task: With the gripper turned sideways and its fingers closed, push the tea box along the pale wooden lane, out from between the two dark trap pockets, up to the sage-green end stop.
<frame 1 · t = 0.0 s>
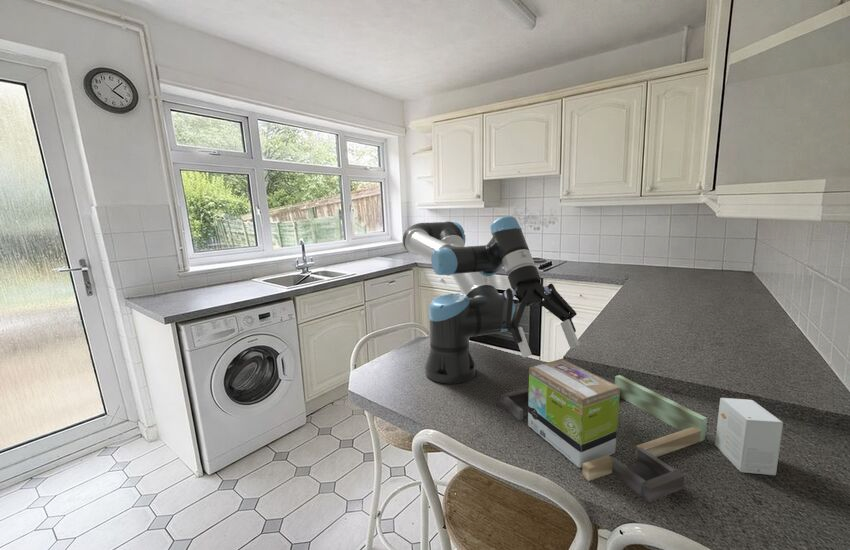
hand: (551, 351, 82), 15 cm above the kitchen counter, tool tilted 35°, fingers open, 13 cm apart
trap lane: (605, 428, 78), on the kitchen counter
tea box: (568, 441, 74), on the kitchen counter
small box: (742, 460, 67), on the kitchen counter
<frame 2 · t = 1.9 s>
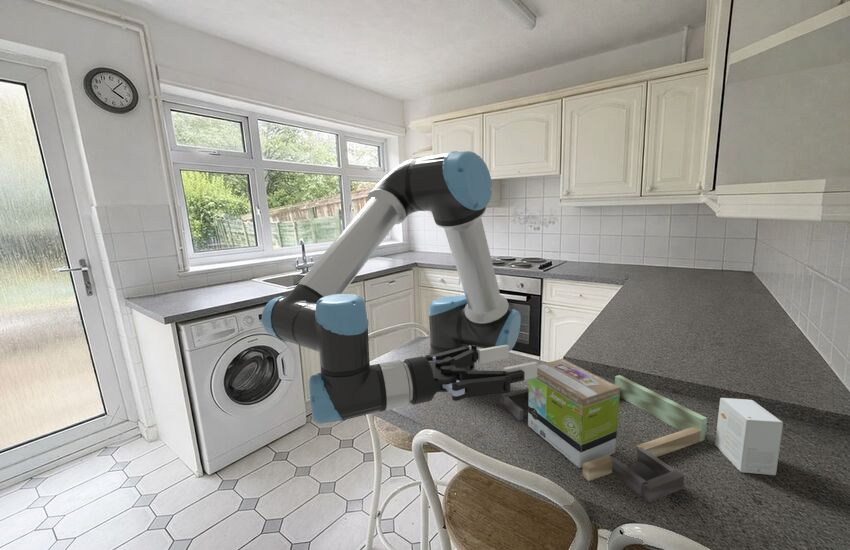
hand: (520, 359, 67), 20 cm above the kitchen counter, tool horizontal, fingers open, 8 cm apart
nothing on the kitchen counter moved.
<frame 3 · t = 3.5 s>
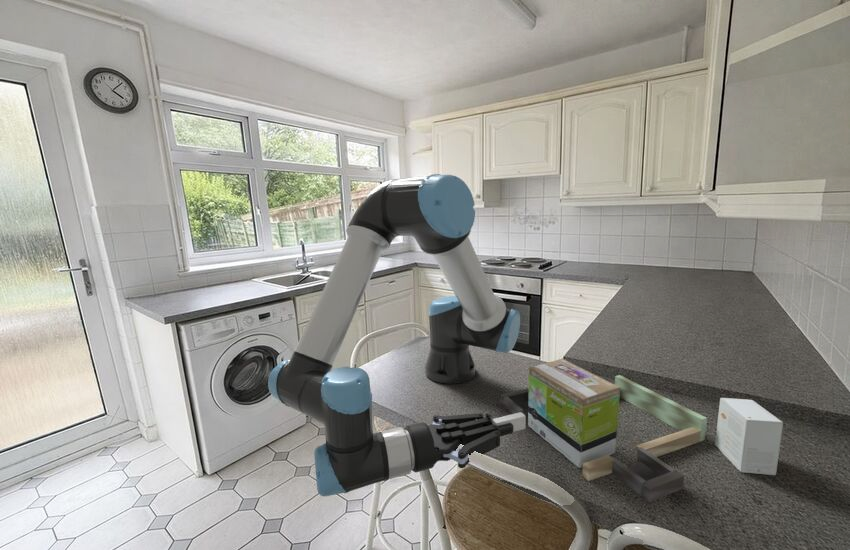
hand: (523, 420, 69), 7 cm above the kitchen counter, tool horizontal, fingers closed
nothing on the kitchen counter moved.
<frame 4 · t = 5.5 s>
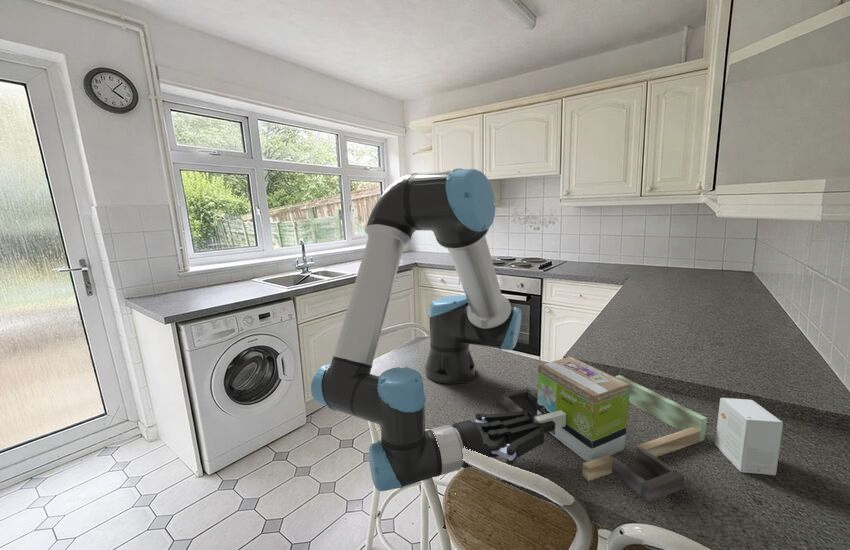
hand: (563, 418, 71), 6 cm above the kitchen counter, tool horizontal, fingers closed
tea box: (577, 437, 75), on the kitchen counter, touching gripper
everything else where it was.
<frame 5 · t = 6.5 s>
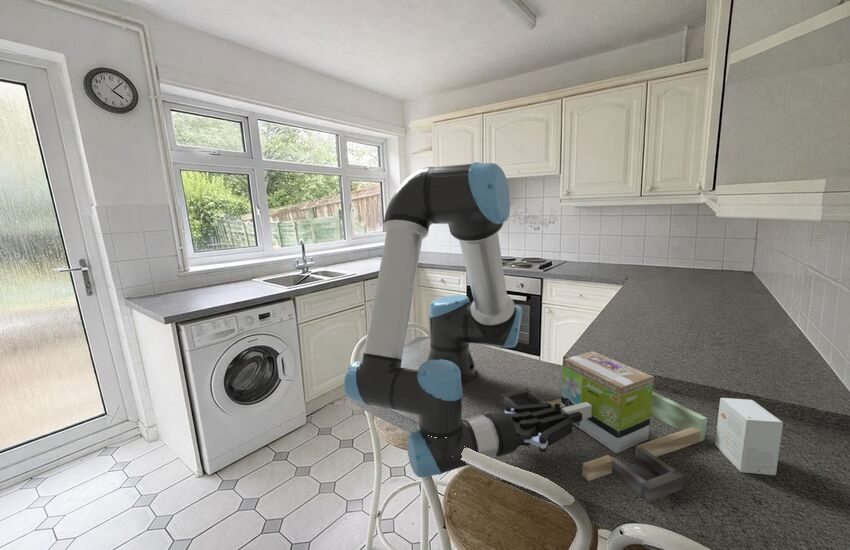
hand: (588, 409, 74), 6 cm above the kitchen counter, tool horizontal, fingers closed
tea box: (601, 429, 78), on the kitchen counter, touching gripper
everything else where it was.
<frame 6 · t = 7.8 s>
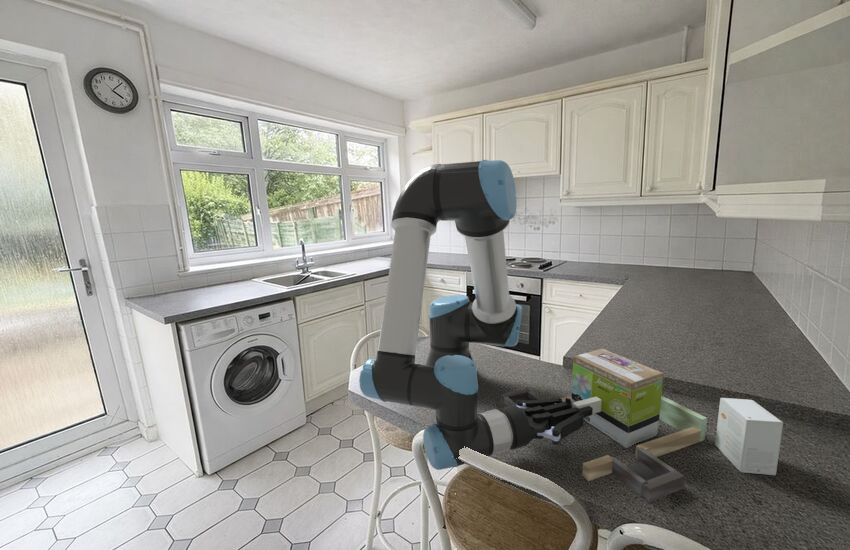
hand: (598, 403, 76), 6 cm above the kitchen counter, tool horizontal, fingers closed
tea box: (611, 424, 79), on the kitchen counter, touching gripper
everything else where it was.
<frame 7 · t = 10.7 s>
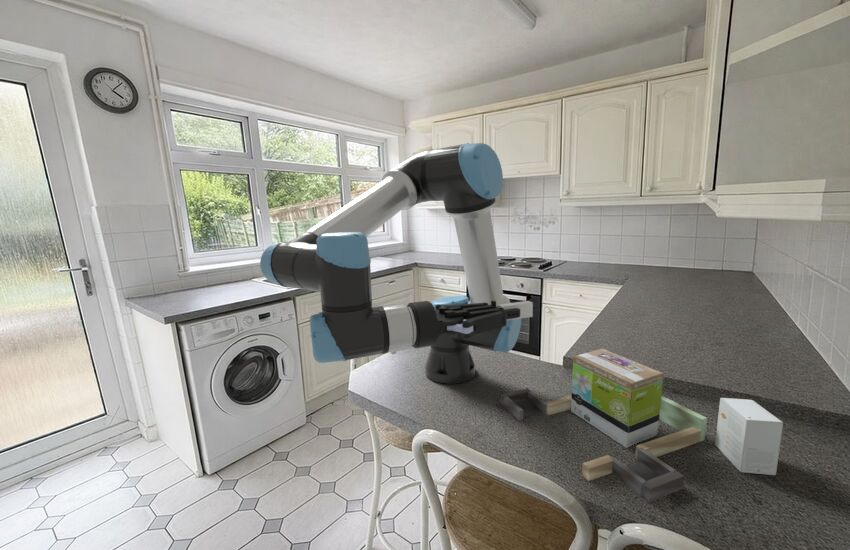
hand: (530, 308, 66), 30 cm above the kitchen counter, tool horizontal, fingers closed
tea box: (611, 424, 79), on the kitchen counter
everything else where it was.
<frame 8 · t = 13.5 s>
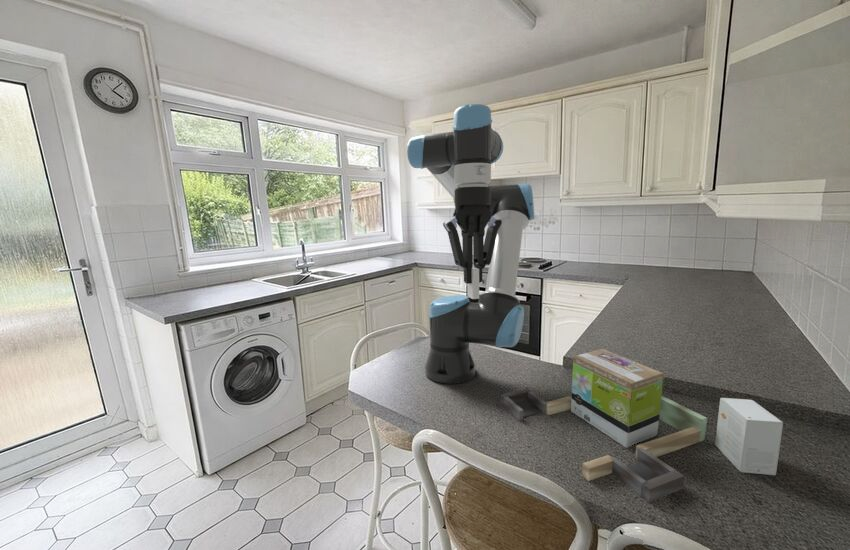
hand: (473, 297, 77), 29 cm above the kitchen counter, tool pointing down, fingers closed
nothing on the kitchen counter moved.
at the end: tea box inside the target area (2.6 cm from its centre), on the kitchen counter; tea box tilted 0°; tea box moved 12.8 cm from its start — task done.
